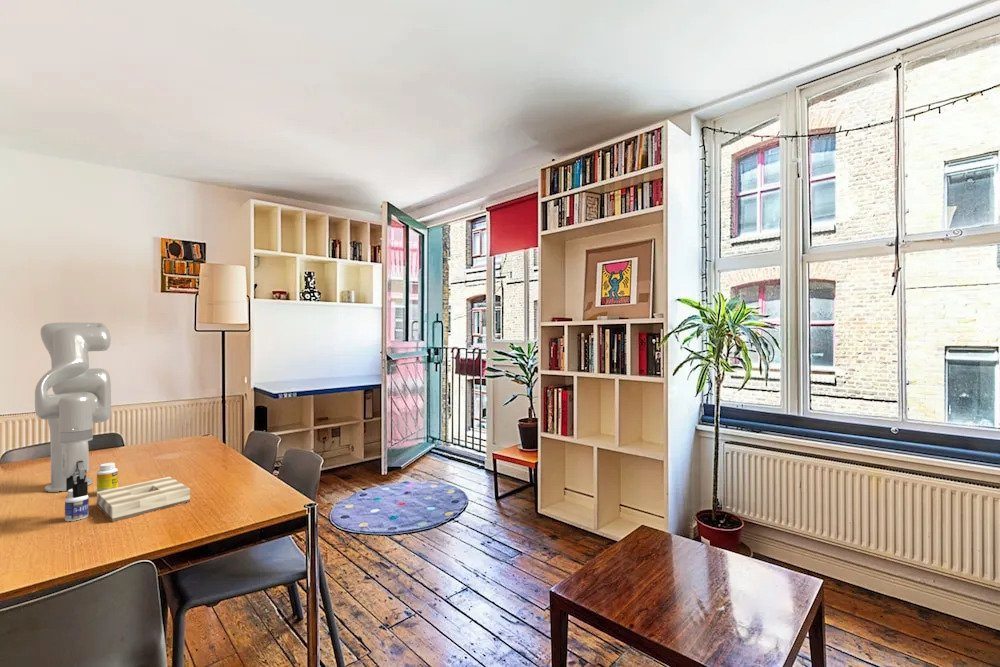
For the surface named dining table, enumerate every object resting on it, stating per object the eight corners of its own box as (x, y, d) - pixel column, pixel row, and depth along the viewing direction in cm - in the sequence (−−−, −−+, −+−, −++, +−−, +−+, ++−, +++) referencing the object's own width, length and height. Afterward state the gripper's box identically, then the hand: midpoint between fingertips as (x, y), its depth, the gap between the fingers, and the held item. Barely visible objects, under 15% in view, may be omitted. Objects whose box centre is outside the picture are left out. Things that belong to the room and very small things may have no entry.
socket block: (96, 505, 149) (96, 492, 149) (170, 489, 164) (169, 476, 164) (112, 522, 136) (112, 506, 136) (190, 502, 152) (190, 488, 152)
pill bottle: (74, 522, 136) (73, 492, 136) (60, 521, 137) (59, 491, 137) (93, 515, 141) (93, 486, 141) (79, 514, 142) (79, 485, 142)
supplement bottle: (113, 495, 159) (113, 465, 158) (93, 497, 157) (93, 467, 157) (120, 489, 164) (120, 461, 164) (101, 491, 162) (101, 462, 162)
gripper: (53, 435, 141) (54, 491, 141) (64, 442, 130) (65, 503, 130) (86, 431, 147) (87, 484, 147) (99, 437, 136) (99, 495, 136)
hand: (76, 493), depth 139 cm, fingers open, 9 cm apart
